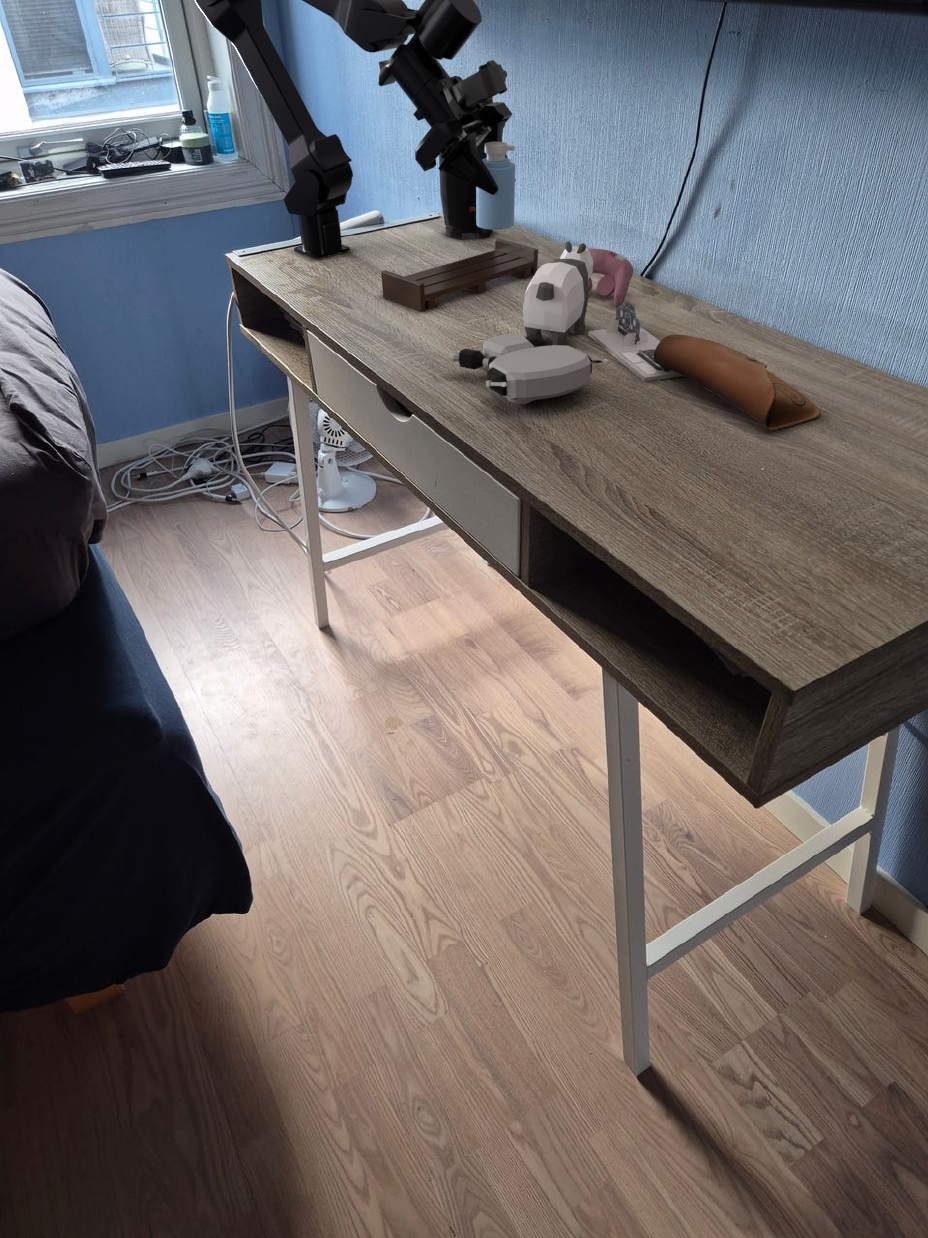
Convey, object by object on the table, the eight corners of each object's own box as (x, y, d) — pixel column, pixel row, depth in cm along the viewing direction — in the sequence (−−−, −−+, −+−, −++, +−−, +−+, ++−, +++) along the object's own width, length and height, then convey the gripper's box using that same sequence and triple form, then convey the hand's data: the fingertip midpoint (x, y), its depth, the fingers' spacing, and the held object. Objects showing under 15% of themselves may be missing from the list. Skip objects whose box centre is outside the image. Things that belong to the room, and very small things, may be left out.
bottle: (471, 227, 119) (470, 146, 113) (483, 218, 123) (484, 138, 117) (507, 231, 118) (508, 148, 112) (518, 221, 122) (520, 141, 115)
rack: (382, 297, 118) (380, 271, 116) (498, 262, 129) (498, 237, 127) (421, 311, 113) (419, 284, 111) (537, 274, 125) (538, 248, 122)
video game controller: (628, 310, 116) (639, 255, 115) (621, 305, 112) (632, 247, 111) (558, 301, 120) (569, 248, 118) (549, 295, 116) (559, 240, 114)
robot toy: (443, 380, 98) (508, 423, 86) (440, 340, 95) (507, 378, 84) (537, 360, 102) (611, 398, 91) (537, 320, 99) (613, 354, 88)
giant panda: (562, 355, 101) (567, 270, 95) (518, 348, 102) (520, 264, 97) (601, 315, 111) (607, 235, 105) (560, 309, 113) (564, 231, 107)
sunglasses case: (829, 410, 87) (818, 362, 82) (775, 457, 87) (762, 411, 82) (710, 348, 99) (695, 303, 94) (663, 389, 99) (645, 345, 94)
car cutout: (587, 334, 106) (590, 297, 103) (637, 327, 107) (641, 290, 105) (644, 381, 95) (649, 341, 92) (698, 373, 96) (705, 333, 93)
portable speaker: (489, 242, 138) (489, 99, 126) (434, 238, 140) (428, 98, 128) (503, 227, 144) (504, 91, 132) (450, 224, 147) (446, 90, 134)
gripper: (432, 45, 102) (516, 157, 105) (499, 30, 115) (572, 131, 118) (380, 117, 110) (459, 220, 113) (448, 96, 123) (517, 189, 126)
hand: (504, 187), depth 117 cm, fingers closed on bottle, 5 cm apart
